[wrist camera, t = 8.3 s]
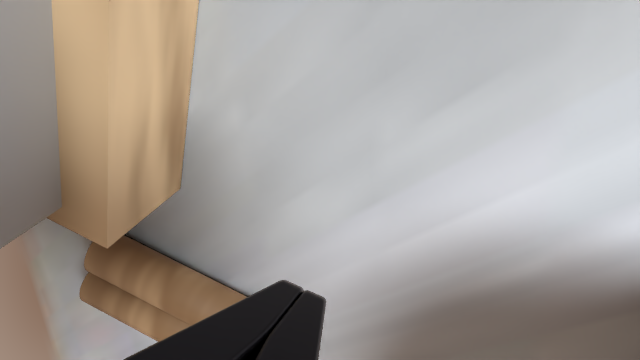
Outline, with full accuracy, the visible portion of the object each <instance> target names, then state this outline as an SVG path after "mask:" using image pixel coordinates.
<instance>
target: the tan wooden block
mask: <svg viewBox="0 0 640 360" xmlns="http://www.w3.org/2000/svg"><path fill="white" fill-rule="evenodd" d="M198 4H199V0H52V20H53V40H54V60H55V79H56V99H57V119H58V139H59V159H60V179H61V199H62V207H61V208H60V209H58V210H57V211H55V212H54V213H52V214H51V215H49V216H48V217H46V218H48V219H50V220H52V221H54V222H56V223H58V224H60V225H62V226H64V227H66V228H67V229H69V230H71V231H73V232H75V233H77V234H79V235H81V236H83V237H85V238H87V239H89V240H91V241H93V242H95V243H97V244H99V245H101V246H103V247H105V248H107V249H108V248H109V247H110V246H111V245H112V244H114V243H115V242H116V241H117V240H118V239H120V238H121V237H122V236H123V235H125V234H126V233H127V232H128V231H129V230H131V229H132V228H133V227H134V226H135V225H137V224H138V223H139V222H140V221H142V220H143V219H144V218H145V217H146V216H148V215H149V214H150V213H151V212H152V211H154V210H155V209H156V208H157V207H159V206H160V205H161V204H162V203H163V202H165V201H166V200H167V199H168V198H170V197H171V196H172V195H173V194H174V193H176V192H177V191H178V190H179V189H180V186H181V176H182V166H183V156H184V146H185V136H186V126H187V116H188V105H189V95H190V85H191V75H192V65H193V55H194V45H195V35H196V24H197V14H198Z"/></svg>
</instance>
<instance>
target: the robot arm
mask: <svg viewBox="0 0 640 360" xmlns="http://www.w3.org/2000/svg"><path fill="white" fill-rule="evenodd" d="M325 307H326V299H325V298H324V297H322V296H319V295H317V294H315V293H313V292H311V291H308V290H306V291H304V290H303V288H302V287H300V286H298V285H295V284H293V283H291V282H289V281H286V280H281V281H278V282H276V283H275V284H273V285H271V286H269V287H267V288H265V289H263V290H261V291H259V292H257V293H255V294H253V295H251V296H249V297H247V298H245V299H243V300H241V301H239V302H237V303H235V304H233V305H231V306H229V307H227V308H225V309H223V310H221V311H219V312H217V313H215V314H213V315H211V316H209V317H207V318H205V319H203V320H201V321H199V322H197V323H195V324H193V325H191V326H189V327H187V328H185V329H183V330H181V331H179V332H177V333H175V334H173V335H171V336H169V337H167V338H165V339H163V340H161V341H159V342H157V343H155V344H153V345H151V346H149V347H148V348H146V349H144V350H142V351H140V352H138V353H136V354H134V355H132V356H130V357H128V358H126V359H124V360H318V358H319V350H320V343H321V336H322V329H323V321H324V314H325Z"/></svg>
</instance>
